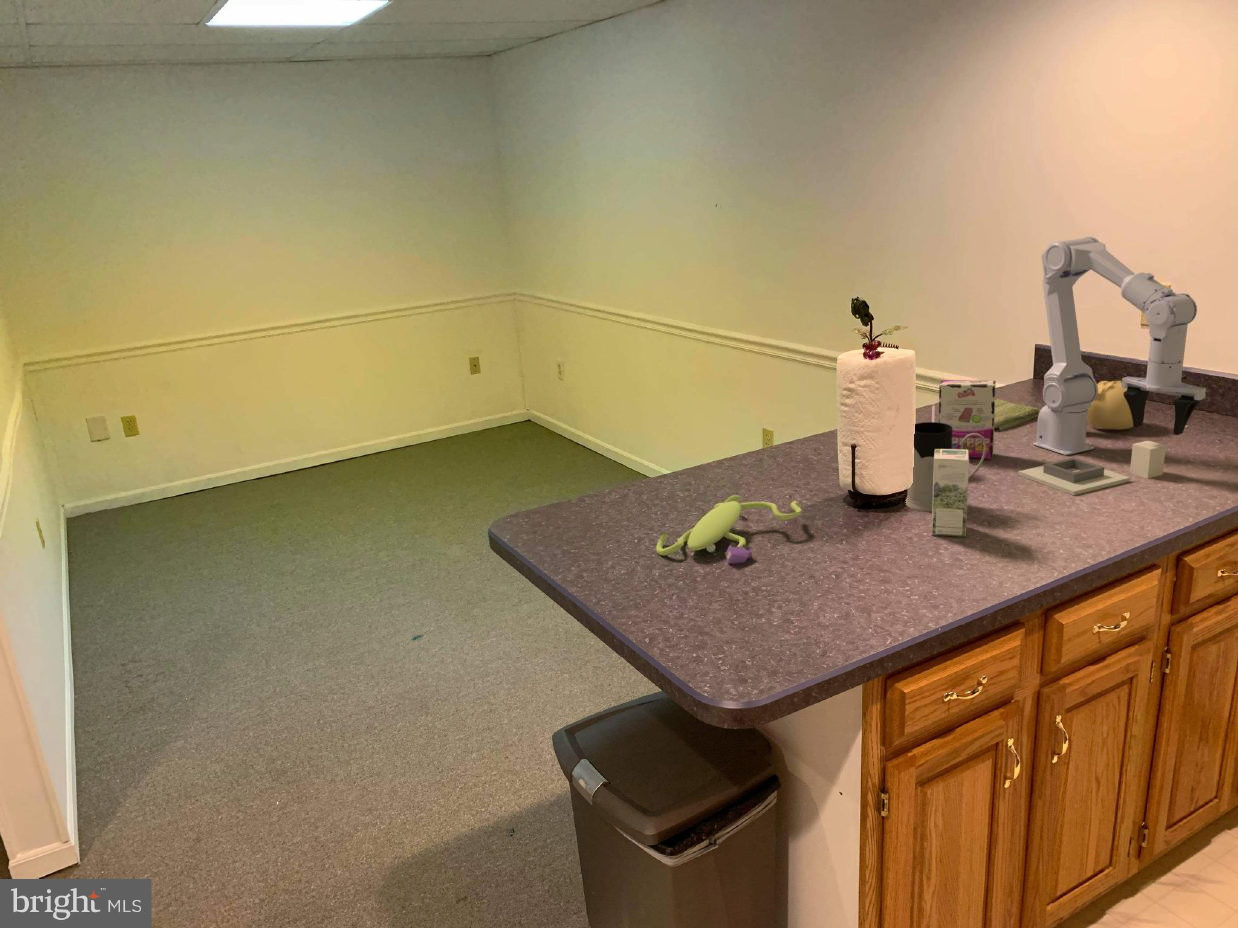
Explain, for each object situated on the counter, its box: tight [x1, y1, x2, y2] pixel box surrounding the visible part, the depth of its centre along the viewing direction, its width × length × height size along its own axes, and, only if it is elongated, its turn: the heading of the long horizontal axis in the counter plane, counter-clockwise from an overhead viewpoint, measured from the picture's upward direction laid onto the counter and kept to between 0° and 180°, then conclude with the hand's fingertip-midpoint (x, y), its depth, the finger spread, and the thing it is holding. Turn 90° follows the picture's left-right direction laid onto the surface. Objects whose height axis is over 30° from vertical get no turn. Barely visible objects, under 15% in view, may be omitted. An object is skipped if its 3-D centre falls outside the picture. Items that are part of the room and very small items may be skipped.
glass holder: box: [904, 421, 987, 513], centre depth 175 cm, size 9×14×15 cm, turn 78°
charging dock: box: [1017, 456, 1131, 496], centre depth 184 cm, size 14×14×3 cm
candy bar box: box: [938, 379, 996, 460], centre depth 200 cm, size 11×5×16 cm, turn 68°
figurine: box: [655, 494, 803, 564], centre depth 169 cm, size 18×27×6 cm
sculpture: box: [1087, 380, 1134, 431], centre depth 211 cm, size 11×12×11 cm
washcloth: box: [994, 398, 1040, 432], centre depth 225 cm, size 13×18×3 cm
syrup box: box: [931, 449, 970, 538], centre depth 163 cm, size 6×6×14 cm
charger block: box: [1129, 440, 1167, 479], centre depth 183 cm, size 4×4×6 cm
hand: (1157, 429), depth 179 cm, fingers open, 7 cm apart
